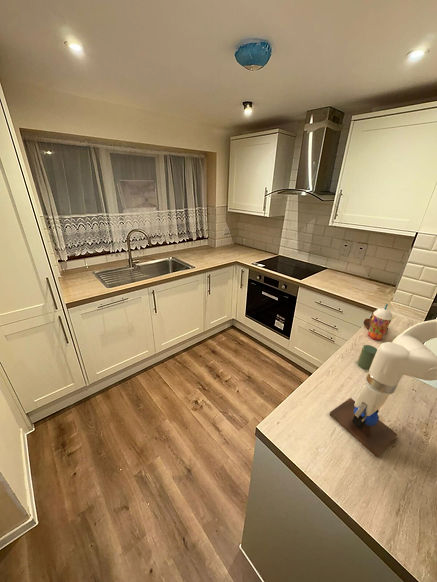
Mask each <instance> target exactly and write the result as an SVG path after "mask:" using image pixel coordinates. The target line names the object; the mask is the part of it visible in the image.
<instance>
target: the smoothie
mask: <svg viewBox="0 0 437 582" xmlns="http://www.w3.org/2000/svg"><path fill="white" fill-rule="evenodd" d="M387 308H388V303H386V304H385V306H384V307H380V308H378V309H376V310H374V311H373V313H372V315H371V316H372V320H371V323H370V327H369V329H368V331H367V334H368V337H369V338H370V339H371V340H375V341H381V339H383V338H384V336H385V334H386V332H387V331H386V330H387V328H388V329H389V326H390V324H391V322H392V321H393V318H394V317H393V314H392V312H391V310H389V309H387Z"/></svg>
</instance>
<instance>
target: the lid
mask: <svg viewBox="0 0 437 582" xmlns="http://www.w3.org/2000/svg"><path fill="white" fill-rule="evenodd" d="M359 407H360V406H359ZM359 407H358V408H356V407H355V409H354V414H355V412H356V411H357V410H358V409H359ZM365 411H366V409H365ZM364 415H365V414H364V413H362V414H361V416H362V417H364ZM378 420H380V416H379V413H378V414H377V412H374V413H373V414H372V415H370V416H367V418H366V419H365V421H366V422H365V424H366V425H369V426H374V425H376V424H377V422H378Z"/></svg>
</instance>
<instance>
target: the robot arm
mask: <svg viewBox="0 0 437 582" xmlns="http://www.w3.org/2000/svg"><path fill="white" fill-rule="evenodd" d="M436 338H437V318H436V319H430V320H426V321H420V322H418V323H415V324H414V325H412V326H410V327H408V328H407V329H405V330H404V331H402V332H400V333H399V334H398V335H397V336H396V337H395V338H394V339H393V340H392V342H391V341H385V342H382V343H380V344H379V346H378V348H376V349H377V352H376V354H375V357H374V359H373V362H372V364H371V367H370V369H369V370H367V371H368V372H367V374H366V376H365V384H364V385H363V387H362V388H361V389H360V392H359V394H358V396H357V398H356V400H355V404H354V406H355V407H356V408H358V407H359V406H360V407H359V409H358V410H357V411H356V412H355V414H354V415H355V416H354V418H353V420H352V422H353V423H354V424H355V425H356V426H357V427H358V428H359V429H361V430H362V429H363V427H364V425H365V422H366V421H365V419H366V418H367V416H370V415H372V414H373V413H374V412H377V414H378V415H379V412H380V409H381V408H382V407H383V406H384V405H385V404H386V402H387V400H388V398H389V397H390V395H393V394H394V393H395V391H396V390H397V388H398V385H399V384H400V381H401V380H402V377H403V376H407V377H410V378H411V377H412V378H414V379H418V380H423V381H429V382H431V381H437V355H436V354H435V353H434V352H433V351H432V350H431V349H430V348H428V346H427V345H425V343H426V342H428V341H430V340H432V339H433V340H434V339H436ZM365 409H366V411H365ZM362 413H364V414H365V415H364V417H362V416H361V414H362Z"/></svg>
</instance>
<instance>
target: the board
mask: <svg viewBox="0 0 437 582" xmlns="http://www.w3.org/2000/svg"><path fill="white" fill-rule="evenodd" d="M355 402H356V400H354V399H353V398H352V397H350V398H348V399H347V400H346V401H344V402H342V403H341V404H340V405H338V406H337V407H335V408H334V409H332V410H331V411H330V412H329V416H330V417H331V418H333V419H334V420H335V421H336V422H337V423H338V424H339V425H340V427H342V428H343V429H344V430H346V431H347V432H348V433H349V434H350V435H351V436H352V437H353V438H355V439H356V440H357V441H358V442H359V443H360V444H361V445H362V446H364V448H365V449H367V450H368V451H369V452H370V453H371V454H372V455H373V456H374V457H375V458H376V457H378V456H379V455H380V454H381V453H382V452H383V451H384V450H385V449H386V448H387V447H388V446H389V445H390V444H391V443H392V442H393V441H394V440H395V439H396V438H397V437H398V433H397V432H395V430H393V429H391V428H390V427H389V426H388V425H386V424H385V423H384V422H383V421H381V420H380V419H379V420H378V422H377V424H376V425H374V426H369V425H366V424H365V425H364V427H363V429H362V430H361V429H359V428H358V427H357V426H356V425H355V424H354V423H353V422H352V420H353V418H354V416H355V415H354V409H355V406H354V404H355Z"/></svg>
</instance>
